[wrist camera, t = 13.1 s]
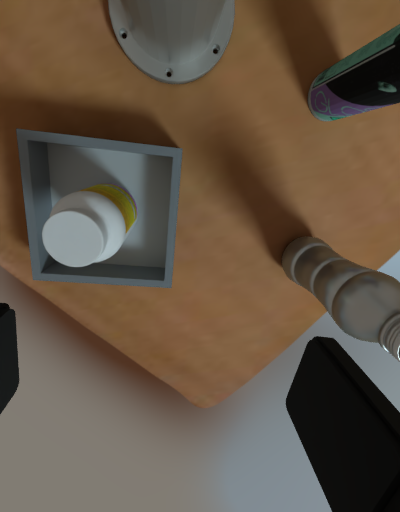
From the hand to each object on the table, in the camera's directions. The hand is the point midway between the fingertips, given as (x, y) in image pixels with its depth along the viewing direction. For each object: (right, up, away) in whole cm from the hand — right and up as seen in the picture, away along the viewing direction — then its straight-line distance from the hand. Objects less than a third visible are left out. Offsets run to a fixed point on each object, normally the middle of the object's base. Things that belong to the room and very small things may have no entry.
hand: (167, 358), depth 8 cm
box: (-10, +9, +25) cm, 28 cm away
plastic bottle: (+15, +4, +29) cm, 33 cm away
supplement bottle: (-10, +9, +24) cm, 28 cm away
